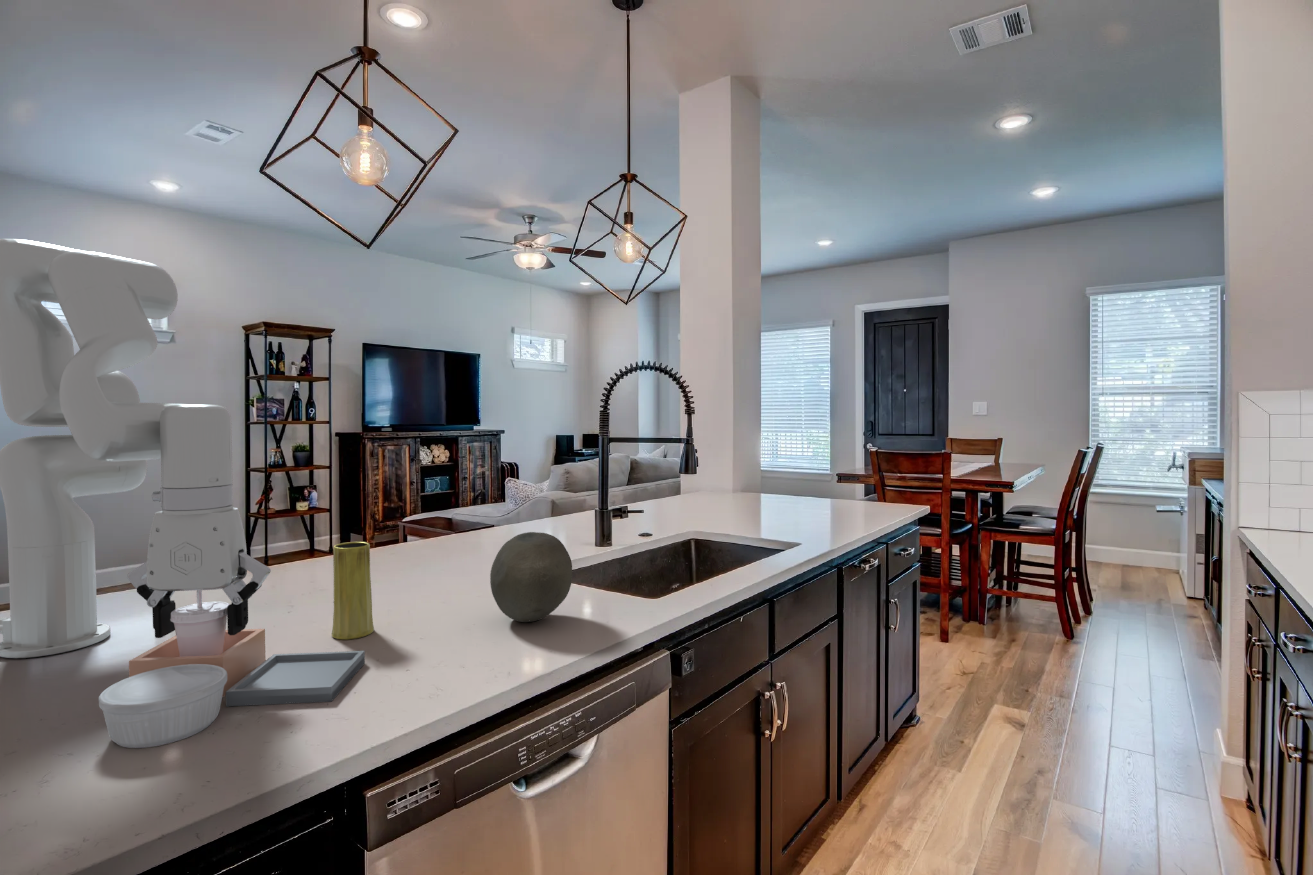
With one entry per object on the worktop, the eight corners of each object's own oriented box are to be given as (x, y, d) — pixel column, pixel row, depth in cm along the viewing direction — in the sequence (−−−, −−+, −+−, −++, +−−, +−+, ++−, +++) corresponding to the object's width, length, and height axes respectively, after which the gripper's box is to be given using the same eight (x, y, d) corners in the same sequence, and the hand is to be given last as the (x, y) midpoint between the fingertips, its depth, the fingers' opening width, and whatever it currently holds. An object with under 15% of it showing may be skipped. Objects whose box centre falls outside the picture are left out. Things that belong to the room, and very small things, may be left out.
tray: (226, 706, 76) (225, 691, 76) (274, 666, 88) (273, 654, 88) (331, 701, 78) (331, 686, 78) (364, 663, 90) (364, 650, 90)
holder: (130, 701, 78) (128, 660, 77) (184, 667, 88) (183, 631, 88) (223, 697, 79) (222, 657, 79) (265, 663, 89) (264, 628, 89)
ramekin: (248, 705, 77) (247, 662, 77) (183, 754, 66) (182, 704, 66) (153, 706, 77) (152, 662, 76) (71, 755, 65) (69, 705, 65)
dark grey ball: (472, 630, 103) (471, 538, 103) (516, 605, 117) (516, 524, 116) (551, 639, 99) (550, 544, 99) (587, 612, 113) (587, 528, 112)
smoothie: (222, 667, 88) (220, 567, 87) (239, 680, 84) (237, 574, 83) (165, 682, 83) (162, 576, 82) (180, 696, 79) (177, 584, 78)
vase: (357, 641, 98) (356, 549, 98) (322, 638, 99) (321, 547, 99) (381, 628, 104) (380, 541, 104) (348, 625, 105) (347, 540, 105)
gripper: (103, 504, 78) (107, 646, 78) (255, 502, 80) (258, 640, 80) (145, 496, 85) (148, 626, 86) (283, 495, 87) (285, 621, 88)
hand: (201, 632), depth 83 cm, fingers open, 8 cm apart
